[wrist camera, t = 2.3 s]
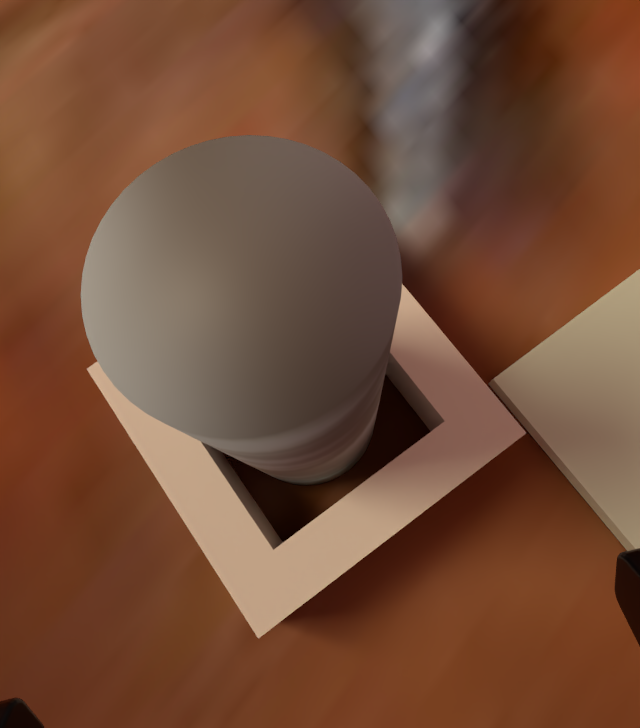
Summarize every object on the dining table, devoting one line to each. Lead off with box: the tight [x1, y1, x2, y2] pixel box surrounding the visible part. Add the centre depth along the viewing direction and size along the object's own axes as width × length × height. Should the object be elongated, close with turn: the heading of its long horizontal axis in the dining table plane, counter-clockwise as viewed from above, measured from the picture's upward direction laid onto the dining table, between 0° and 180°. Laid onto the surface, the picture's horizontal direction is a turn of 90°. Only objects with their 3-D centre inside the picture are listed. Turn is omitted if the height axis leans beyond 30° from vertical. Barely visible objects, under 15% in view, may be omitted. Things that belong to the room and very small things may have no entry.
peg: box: [81, 135, 402, 485], centre depth 16 cm, size 5×5×13 cm
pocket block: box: [87, 284, 526, 638], centre depth 20 cm, size 10×10×3 cm
